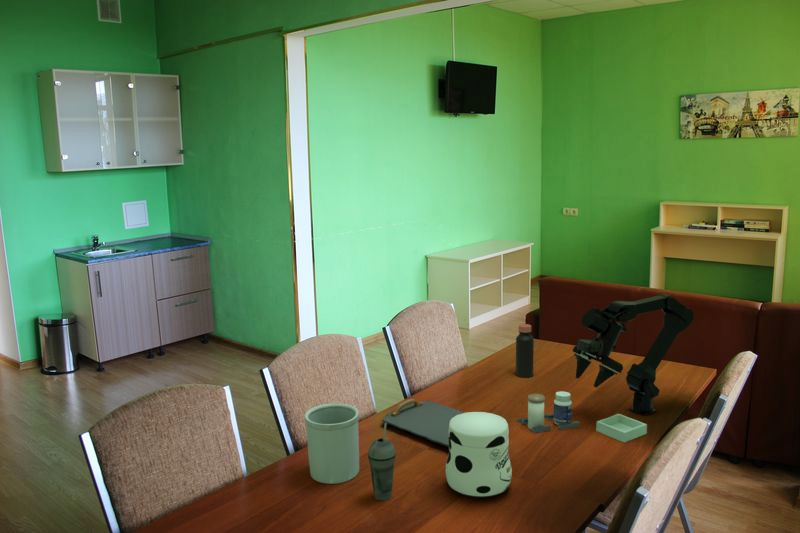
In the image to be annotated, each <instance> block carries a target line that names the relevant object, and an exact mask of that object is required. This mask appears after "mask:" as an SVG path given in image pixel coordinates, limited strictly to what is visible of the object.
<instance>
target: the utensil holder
mask: <svg viewBox="0 0 800 533" xmlns="http://www.w3.org/2000/svg"><path fill="white" fill-rule="evenodd" d="M359 417H360V412H359V409H358V408H357V407H355V406H353V405H350V404H346V403H335V402H334V403H325V404H320V405H316V406H314V407H311V408H310V409H307V411H306V412H305V414H304V422H305V424H306V425H305V427H306V439H307V452H308V453H307V454H308V463H309V473H310V477H311V478H312V479H313V480H315V481H316V482H319V483H322V484H327V485H329V484H330V485H331V484H332V485H333V484H341V483H345V482H348V481H351V480H353V479H354V478H355V477H357V475H358V474H359V473H360V443H359V442H360V439H359Z"/></svg>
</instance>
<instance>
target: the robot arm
mask: <svg viewBox="0 0 800 533" xmlns="http://www.w3.org/2000/svg"><path fill="white" fill-rule="evenodd" d="M658 310H659V311H660V310H661V311H662V312H663V313H664V317H663V327H662V329H661V331H660V332H659V333H658V336H657V337H656V338H655V340H654V342H653V343H652V344H651V346H650V348H649V350H648V351H647V353H646V354H645V357H643V360H642V361H641V362H640V363H638V364H637V363H633V364H631V366H630V368H629V369H628V371H627V372H626V374H627V375H626V377H625V380H626V384H627V386H628V388H629V391H632V392H634V393H633V399H632V406H631V407H628V408H629V410H630V411H632V412H635V413H637V414H640V415H643V416H647V415H650V414H652V413H656V412H657V408H654V398H656V397H658V396H659V394H660V389H659V388H658V386H656V385H655V382H656V379H657V368H658V367H659V365H660V364H661V362H662V361H663V359H664V357H665V356H666V354H667V352H668V351H669V349H670V348H671V346H672V344H673V342H674V341H675V339H676V337H677V336H678V335H679V334H680V333H682V332H683V331H685V330H687V329H688V328H689V326H690V325H691V324H692V322H694V319H695V316H694V311H693V310H692V309H691V308H689V307H686V306H685V305H684V304H682V303H680V302H679V301H678V300H677V299H675V297H674V296H671V295H668V294H664V293H661V294H658V295H655V296H650V297H646V298H642V299H638V300H633V301H625V300H616V301H614V300H613V301H611V302H610V303H609V305H608V306H606V307H605V308H603V309H602V310H600V309H598V308H597V307H591V309H590V310H588V311H586V312H585V313H584V314H583V315H582V318H581V324H582V326H583V327H585V328H587V329H589V330H591V331H593V333H596V334H598V335H597V336H593V337H592V339H591V340H590V339H582V338H580V339H578V342H577V344H576V345H574V347H573V349H572V353H573V356H575V358H576V368H575V369H576V370H575V371H576V372H575V379H578V380H579V379H580V378H581V377H582V375H583V374H584V373H585V371H586V370H587V369H588V368H589V366H590V365H591V363H592V361H591V360H593V361H596V362H598V363H600V364H598V369H599V370H598V373H597V376H596V378H595V380H594V384H593V387H594V388H598V387H600V385H602V384H603V383H605V382H607V380H609V379H610V378H611V377H613V376H615V375H618V373H619V374H621V373H622V371H623V369H624V365H623V364H622V363H621V362H619V361H618V360H615V359H613V358H611V357H609V356H610V354H611V352H612V350H616V348H617V346H616V345H615V344H616V342H617V340H618V338H619V336H620V333H621V332H624V333H627V332H628V329H627V327H626V324H625V323H628V322H631V321H632V320H634V319H636V318H637V317H638V316H639V315H642V314H647V313H652V312H656V311H658Z"/></svg>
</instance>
